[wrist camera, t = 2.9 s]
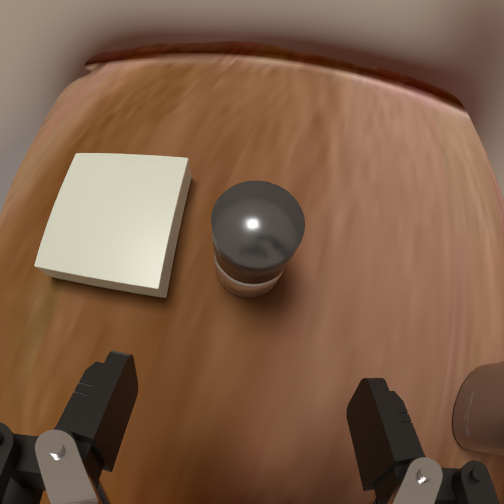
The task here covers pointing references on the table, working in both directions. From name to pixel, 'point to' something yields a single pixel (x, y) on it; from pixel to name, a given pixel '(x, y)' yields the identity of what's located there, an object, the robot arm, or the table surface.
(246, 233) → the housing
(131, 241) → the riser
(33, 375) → the table surface
